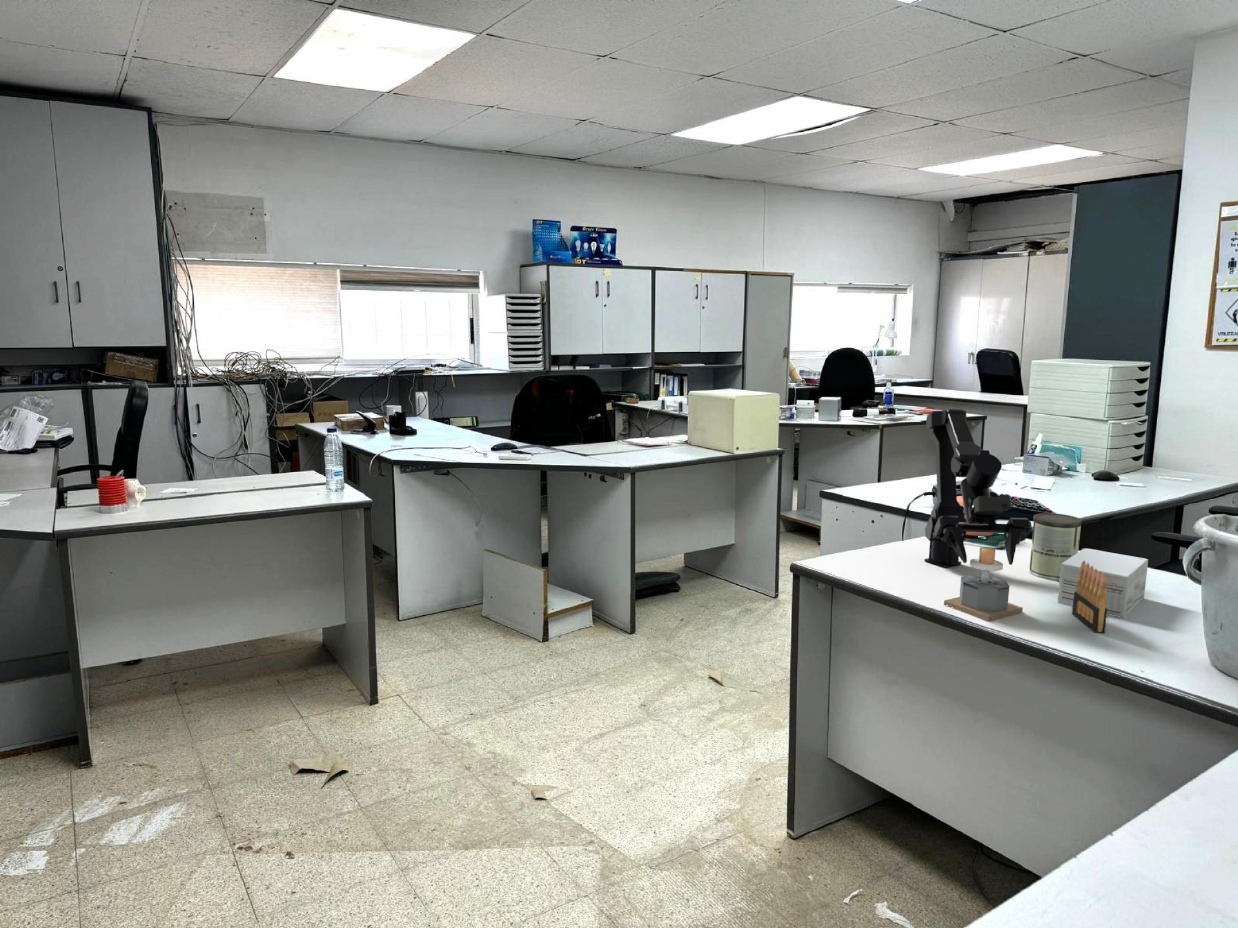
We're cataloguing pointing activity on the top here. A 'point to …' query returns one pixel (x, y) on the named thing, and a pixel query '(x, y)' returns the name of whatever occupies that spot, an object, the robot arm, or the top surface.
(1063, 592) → the supplement box
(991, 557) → the pump plunger
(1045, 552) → the coffee can
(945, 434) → the robot arm
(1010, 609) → the pump canister
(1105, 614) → the ammunition clip
